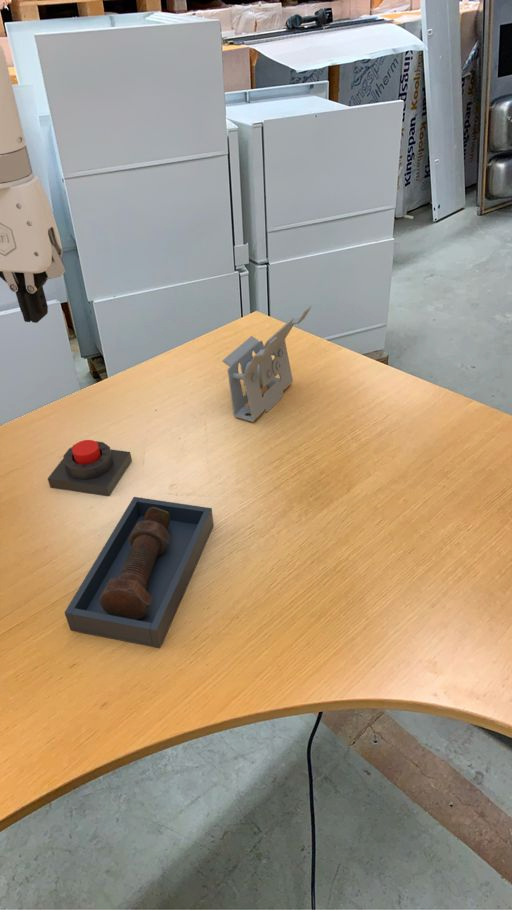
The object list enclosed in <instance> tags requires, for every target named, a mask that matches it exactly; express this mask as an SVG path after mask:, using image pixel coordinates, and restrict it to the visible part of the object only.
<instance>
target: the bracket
mask: <svg viewBox="0 0 512 910" xmlns="http://www.w3.org/2000/svg"><path fill="white" fill-rule="evenodd" d="M312 307H313V306H311V305H310V306H308V307H307V308H305V310H304V312H303V313H302V315H301V317H298V318H294V317H292V318H291V319H289V320H288V321H287V322H286V323H285V324H284V325H282V327H281V328H279V329H278V330H277V331H276V332H275V333H274V334H273V335H272V336H270V337H269V338H268V339H267V340H266V341H265V343H264V342H263V340H258V339H257V338H256V337H254V336H253V335H251V336H249V337H248V338H247V339H246V340H245V341H243V342H242V343H241V344H240V345H238V347H236V348H235V349H234V350H233V351H232V352H230V353H229V354H228V355H227V356H226V357H225V358H223V359H222V363H223V364H225V365H226V366H228V367H229V368H227V377H228V384H229V391H230V399H231V405H232V406H231V407H232V413H233V416H234V417H235V418H238V419H241V420H245V421H248V422H251V423H254V422H255V421H256V420H257V419H258V418H259V417H260V416H261V415H262V414H263V413H264V411H265V413H268V412H269V411H271V409H272V408H274V406H275V405H276V404H277V403H278V402H279V401H280V400H281V398H283V397H284V391H285V390H287V388H288V387H289V386H290V385H291V384H292V383H293V382H294V378H293V374H292V369H291V364H290V359H289V355H288V354H289V353H288V348H287V344H286V339H287V337H288V335H289V334H290V332H291V331H292V329H293V327H294V325H299V324H301V322H302V321H303V320H305V318H306V317H307V315H308V313H309V312H310V311H311V308H312ZM253 353H254V356H253ZM272 356H273V357H274V358H273V357H272ZM239 365H240V372H241V373H240V372H239ZM277 376H279V377H277ZM242 381H243V386H244V389H245V391H244V393H243V387H242ZM265 387H266V388H267V389H266V390H265V391H264V392H263V394H262V389H263V388H265ZM262 395H263V396H262ZM246 404H248V405H249V406H247V405H246Z"/></svg>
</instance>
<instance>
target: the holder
mask: <svg viewBox="0 0 512 910" xmlns="http://www.w3.org/2000/svg"><path fill="white" fill-rule="evenodd" d="M150 507H156V508H159V509H162V510H165V511H167V512H168V513H169V515H170V518H169V519H170V523H169V525H168V528H167V532H168V533H169V535H170V540H169V543H168V545H167V547H166V548H165V550H164V552H163V553H162V554H161V556H157V558H156V560H155V564H154V566H153V569H152V572H151V574H150V577H149V580H148V583H147V585H146V591H147V592H148V593H149V594H150V595H151V596H152V597H153V599H152V602H151V604H150V606H149V608H148V610H147V612H146V614H145V615H144V616H143V618H142V619H141V620H133V619H128V618H123V617H117V616H112V615H109V614H107V613H106V612H105V611H104V609H103V608H102V606H101V605H100V603H99V599H100V596H101V594H102V592H103V590H104V589H105V587H106V585H107V583H108V582H109V580H110V578H113V579H118V577H119V576H120V573H121V571H122V569H123V567H124V564H125V562H126V559H127V556H128V554H129V552H130V549H131V545H130V543H129V541H128V540H129V537H130V535H131V533H132V531H133V529H134V527H135V526H136V524H137V523H138V522H140V521H143V518H144V516H145V513H146V511H147V510H148V509H149V508H150ZM213 516H214V515H213V510H212V507H207V506H200V505H194V504H193V505H192V504H188V503H187V504H185V503H179V502H172V501H166V500H159V499H152V498H145V497H138V496H133V497H132V499H131V500H130V502H129V504H128V505H127V507H126V509H125V511H124V512H123V514H122V516H121V517H120V519H119V520H118V522H117V523H116V526H115V527H114V529H113V531H112V532H111V534H110V536H109V537H108V539H107V541H106V542H105V544H104V546H103V547H102V549H101V551H100V552H99V554H98V555H97V558H96V559H95V561H94V562H93V564H92V566H91V567H90V569H89V570H88V572H87V574H86V576H85V577H84V578H83V581H82V583H81V584H80V586H79V588H78V589H77V591H76V592H75V594H74V595H73V597H72V599H71V601H70V602H69V604H68V606H67V607H66V609H65V611H64V615H65V616H64V617H65V618H66V619H65V620H66V622H67V625H68V627H69V631H72V632H77V633H81V634H86V635H87V634H88V635H91V636H98V637H102V638H107V639H113V640H117V641H122V642H127V643H132V644H135V645H136V644H137V645H143V646H145V647H146V646H147V647H150V648H151V647H152V648H157V649H161V647H162V646H163V643H164V641H165V638H166V636H167V634H168V632H169V629H170V627H171V625H172V622H173V620H174V618H175V616H176V613H177V611H178V609H179V606H180V604H181V602H182V600H183V598H184V595H185V593H186V591H187V588H188V585H189V583H190V581H191V578H192V576H193V574H194V572H195V570H196V568H197V565H198V563H199V560H200V558H201V555H202V554H203V552H204V549H205V547H206V544H207V542H208V539H209V537H210V535H211V533H212V531H213V528H214V517H213Z"/></svg>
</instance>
